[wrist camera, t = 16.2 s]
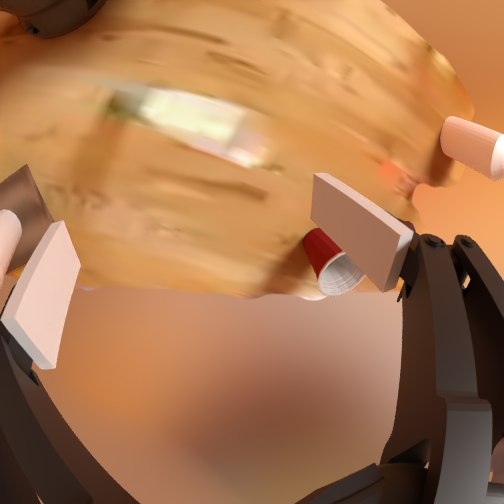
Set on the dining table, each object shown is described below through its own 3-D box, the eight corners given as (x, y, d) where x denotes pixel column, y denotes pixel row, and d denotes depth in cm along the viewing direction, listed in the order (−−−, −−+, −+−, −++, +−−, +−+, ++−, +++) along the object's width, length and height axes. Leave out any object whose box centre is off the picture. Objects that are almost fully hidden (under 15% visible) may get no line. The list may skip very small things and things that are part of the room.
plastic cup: (280, 250, 53) (307, 288, 44) (315, 207, 50) (351, 239, 41) (313, 269, 59) (340, 305, 50) (345, 232, 56) (378, 264, 47)
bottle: (461, 113, 47) (537, 146, 28) (460, 153, 55) (529, 191, 35) (439, 116, 46) (525, 153, 27) (439, 160, 54) (516, 204, 34)
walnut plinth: (-21, 200, 27) (-32, 210, 24) (27, 163, 29) (16, 171, 26) (13, 261, 36) (5, 274, 33) (61, 234, 37) (55, 247, 34)
